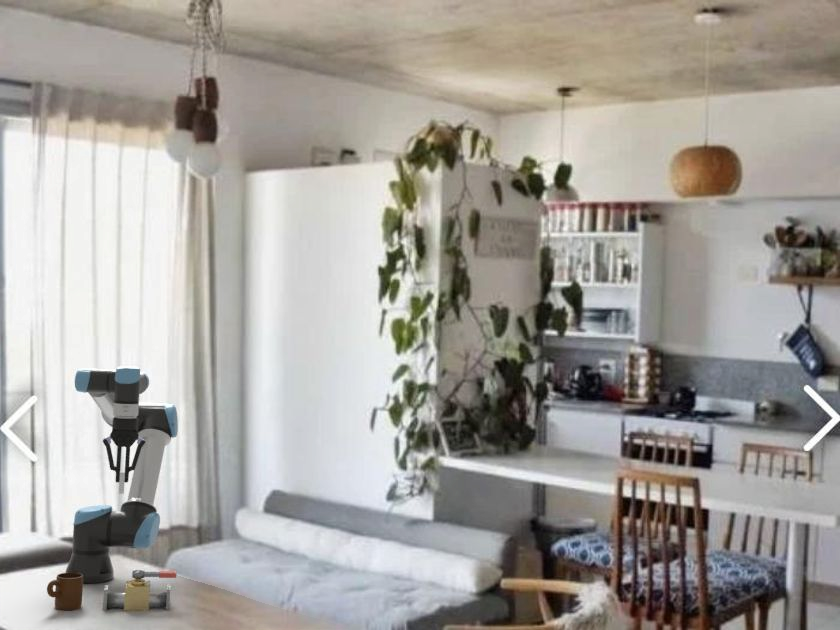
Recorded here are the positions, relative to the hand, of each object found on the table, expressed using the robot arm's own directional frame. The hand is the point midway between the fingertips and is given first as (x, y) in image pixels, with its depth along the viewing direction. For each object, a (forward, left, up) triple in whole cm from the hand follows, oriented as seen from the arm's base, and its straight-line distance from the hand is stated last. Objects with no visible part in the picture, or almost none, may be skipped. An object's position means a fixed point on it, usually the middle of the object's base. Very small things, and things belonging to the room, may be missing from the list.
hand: (121, 492), depth 322 cm
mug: (+14, -14, -32) cm, 38 cm away
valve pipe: (+13, +7, -32) cm, 35 cm away
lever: (+13, +11, -23) cm, 29 cm away
